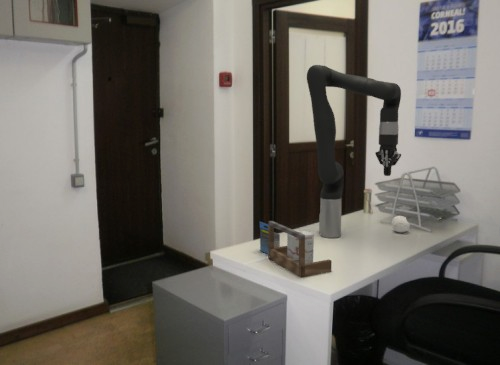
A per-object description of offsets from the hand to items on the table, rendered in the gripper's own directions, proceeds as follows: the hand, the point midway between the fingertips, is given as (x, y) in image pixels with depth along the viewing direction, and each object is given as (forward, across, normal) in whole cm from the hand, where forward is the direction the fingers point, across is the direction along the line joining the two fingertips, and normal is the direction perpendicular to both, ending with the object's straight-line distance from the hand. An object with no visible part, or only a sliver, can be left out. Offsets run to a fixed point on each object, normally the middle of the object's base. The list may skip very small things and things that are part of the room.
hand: (387, 175), depth 188 cm
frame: (+29, +5, -45) cm, 54 cm away
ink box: (+29, +5, -45) cm, 54 cm away
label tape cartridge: (+29, -13, -48) cm, 58 cm away
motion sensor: (+29, -11, +19) cm, 37 cm away
